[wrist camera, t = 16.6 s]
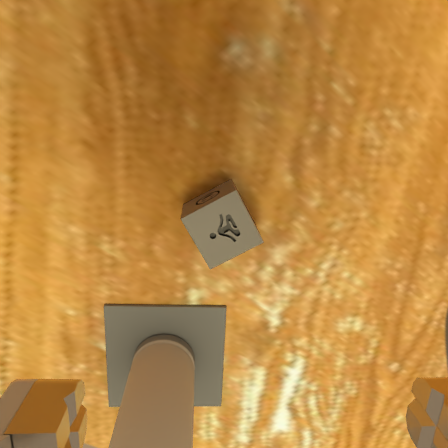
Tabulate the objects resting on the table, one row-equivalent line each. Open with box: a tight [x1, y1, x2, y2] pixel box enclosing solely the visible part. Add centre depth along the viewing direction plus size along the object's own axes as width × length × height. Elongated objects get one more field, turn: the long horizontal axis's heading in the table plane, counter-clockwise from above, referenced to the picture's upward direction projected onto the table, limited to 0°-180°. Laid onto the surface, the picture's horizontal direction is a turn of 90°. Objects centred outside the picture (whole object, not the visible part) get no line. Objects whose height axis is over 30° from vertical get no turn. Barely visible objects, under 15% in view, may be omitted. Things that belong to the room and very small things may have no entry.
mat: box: [104, 304, 226, 407], centre depth 39 cm, size 12×12×1 cm
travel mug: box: [109, 334, 195, 448], centre depth 30 cm, size 6×7×20 cm
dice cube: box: [181, 179, 263, 269], centre depth 33 cm, size 5×5×5 cm
